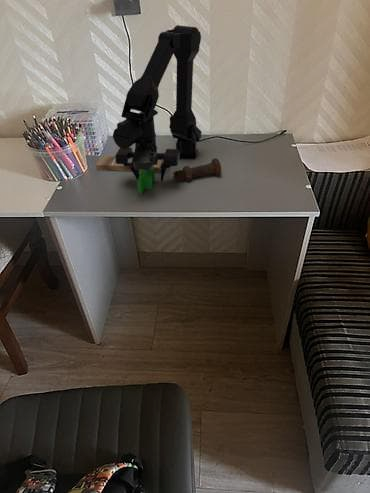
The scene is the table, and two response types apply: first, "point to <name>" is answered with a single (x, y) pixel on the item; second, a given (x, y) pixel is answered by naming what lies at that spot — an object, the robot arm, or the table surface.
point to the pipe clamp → (145, 180)
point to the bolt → (198, 171)
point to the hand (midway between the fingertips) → (150, 180)
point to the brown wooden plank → (121, 165)
